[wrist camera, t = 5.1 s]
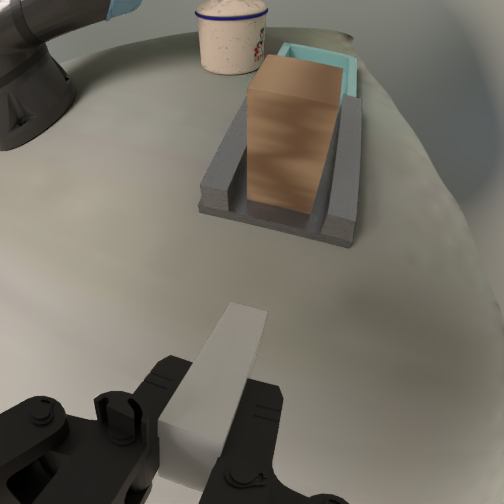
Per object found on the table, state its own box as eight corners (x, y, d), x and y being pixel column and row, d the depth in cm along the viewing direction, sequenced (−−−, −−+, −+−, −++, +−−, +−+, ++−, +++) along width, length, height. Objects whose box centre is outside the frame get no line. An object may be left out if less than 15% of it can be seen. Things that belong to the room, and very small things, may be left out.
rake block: (247, 199, 24) (247, 88, 15) (262, 156, 26) (267, 54, 17) (310, 214, 23) (339, 106, 15) (319, 169, 26) (343, 68, 17)
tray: (261, 103, 32) (262, 81, 29) (282, 60, 38) (284, 42, 35) (350, 122, 31) (356, 101, 28) (352, 74, 36) (356, 57, 34)
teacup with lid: (270, 75, 35) (274, -6, 25) (199, 79, 35) (191, -2, 24) (258, 42, 41) (260, -22, 31) (200, 46, 40) (195, -19, 30)
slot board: (199, 212, 24) (193, 183, 21) (252, 102, 32) (253, 76, 29) (348, 248, 23) (362, 223, 20) (358, 125, 30) (366, 100, 27)
